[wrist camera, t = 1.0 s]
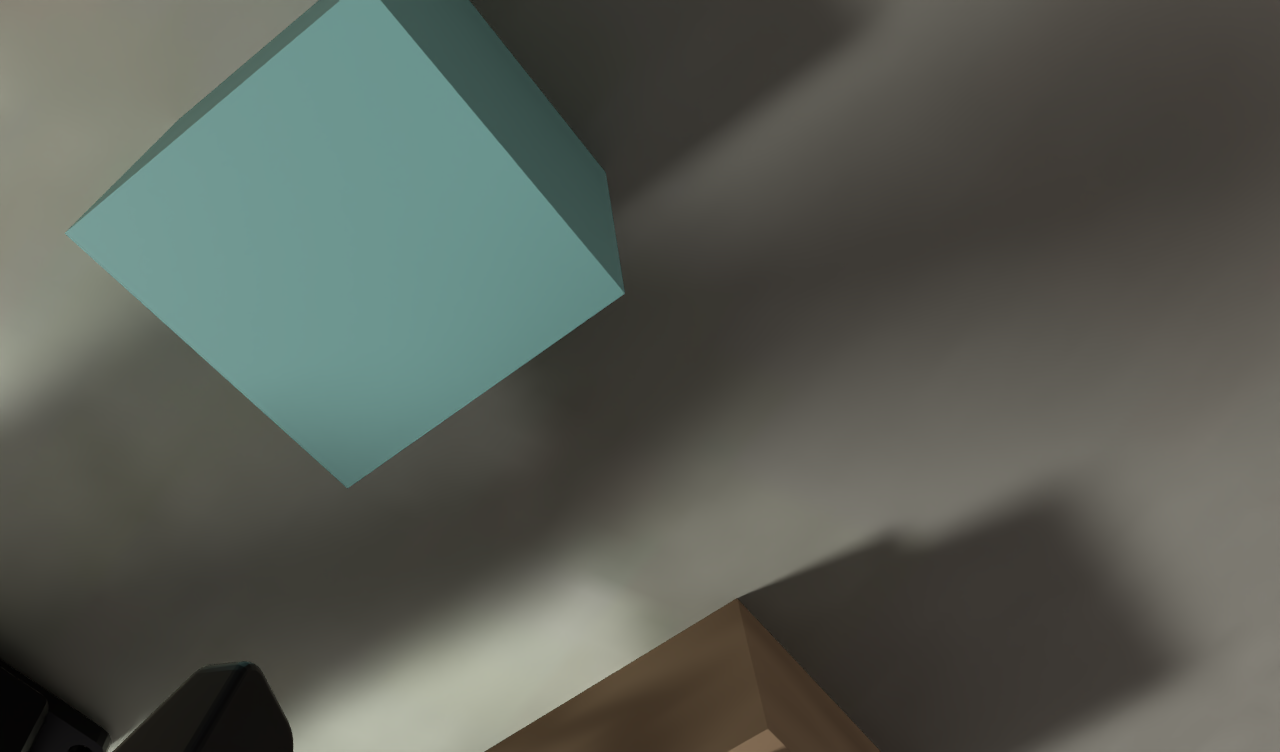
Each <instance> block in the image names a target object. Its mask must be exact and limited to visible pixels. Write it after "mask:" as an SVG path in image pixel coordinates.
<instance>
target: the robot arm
mask: <svg viewBox="0 0 1280 752" xmlns="http://www.w3.org/2000/svg"><path fill="white" fill-rule="evenodd" d="M110 743H111V738H110V736H109V734H108V733H107V732H106V731H105V730H104V729H103V728H102V727H100V726H99V725H97V724H96V723H94V722H93V721H91V720H90V719H88V718H87V717H85V716H84V715H83V714H81V713H80V712H78V711H77V710H75V709H74V708H72V707H71V706H69V705H68V704H66V703H65V702H63V701H62V700H60V699H59V698H57V697H56V696H54V695H53V694H51V693H50V692H48V691H47V690H45V689H44V688H42V687H41V686H39V685H38V684H36V683H35V682H33V681H32V680H31V679H29V678H28V677H26V676H25V675H23V674H22V673H20V672H19V671H17V670H16V669H14V668H13V667H11V666H10V665H8V664H7V663H5V662H4V661H2V660H1V659H0V752H108V749H109V747H110ZM82 745H84V746H86V747H84V746H82ZM113 752H293V737H292V732H291V728H290V725H289V722H288V720H287V718H286V717H285V715H284V713H283V711H282V709H281V707H280V705H279V703H278V701H277V699H276V697H275V696H274V694H273V692H272V690H271V688H270V686H269V684H268V682H267V680H266V678H265V676H264V675H263V673H262V671H261V670H260V668H259V667H258V666H256V665H255V664H253V663H252V662H247V661H242V662H233V663H223V664H214V665H208V666H205V667H202V668H201V669H199V670H198V671H196V672H195V673H194V674H193V675H192V676H191V677H190V678H189V679H188V680H186V681H185V682H184V683H183V684H182V685H181V686H180V687H179V688H178V689H177V690H176V691H175V692H174V693H173V694H172V695H171V696H170V697H169V698H168V699H167V700H166V701H165V702H164V703H163V704H161V705H160V706H159V707H158V708H157V709H156V710H155V711H154V712H153V713H152V714H151V715H150V716H149V717H148V718H147V719H146V720H145V721H144V722H143V723H142V724H141V725H140V726H139V727H138V728H137V729H135V730H134V731H133V732H132V733H131V734H130V735H129V736H128V737H127V738H126V739H125V740H124V741H123V742H122V743H121V744H120V745H119V746H118V747H117V748H116V749H115V750H114V751H113Z"/></svg>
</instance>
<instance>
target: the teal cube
mask: <svg viewBox="0 0 1280 752" xmlns="http://www.w3.org/2000/svg"><path fill="white" fill-rule="evenodd" d="M65 234H66V235H67V236H68V237H69V238H70V239H71V240H72V241H74V242H75V243H76V244H77V245H78V246H79V247H80V248H81V249H82V250H84V251H85V252H86V253H87V254H88V255H89V256H90V257H91V258H92V259H94V260H95V261H96V262H97V263H98V264H99V265H100V266H101V267H102V268H104V269H105V270H106V271H107V272H108V273H109V274H110V275H111V276H112V277H114V278H115V279H116V280H117V281H118V282H119V283H120V284H121V285H122V286H124V287H125V288H126V289H127V290H128V291H129V292H130V293H131V294H132V295H133V296H135V297H136V298H137V299H138V300H139V301H140V302H141V303H142V304H143V305H145V306H146V307H147V308H148V309H149V310H150V311H151V312H152V313H153V314H155V315H156V316H157V317H158V318H159V319H160V320H161V321H162V322H163V323H165V324H166V325H167V326H168V327H169V328H170V329H171V330H172V331H173V332H175V333H176V334H177V335H178V336H179V337H180V338H181V339H182V340H183V341H184V342H186V343H187V344H188V345H189V346H190V347H191V348H192V349H193V350H194V351H196V352H197V353H198V354H199V355H200V356H201V357H202V358H203V359H204V360H206V361H207V362H208V363H209V364H210V365H211V366H212V367H213V368H214V369H216V370H217V371H218V372H219V373H220V374H221V375H222V376H223V377H224V378H226V379H227V380H228V381H229V382H230V383H231V384H232V385H233V386H234V387H236V388H237V389H238V390H239V391H240V392H241V393H242V394H243V395H244V396H245V397H247V398H248V399H249V400H250V401H251V402H252V403H253V404H254V405H255V406H257V407H258V408H259V409H260V410H261V411H262V412H263V413H264V414H265V415H267V416H268V417H269V418H270V419H271V420H272V421H273V422H274V423H275V424H277V425H278V426H279V427H280V428H281V429H282V430H283V431H284V432H285V433H287V434H288V435H289V436H290V437H291V438H292V439H293V440H294V441H295V442H297V443H298V444H299V445H300V446H301V447H302V448H303V449H304V450H305V451H306V452H308V453H309V454H310V455H311V456H312V457H313V458H314V459H315V460H316V461H318V462H319V463H320V464H321V465H322V466H323V467H324V468H325V469H326V470H328V471H329V472H330V473H331V474H332V475H333V476H334V477H335V478H336V479H338V480H339V481H340V482H341V483H342V484H343V485H344V486H345V487H346V488H349V487H350V486H352V485H353V484H355V483H356V482H358V481H359V480H360V479H362V478H363V477H365V476H366V475H368V474H369V473H370V472H372V471H373V470H375V469H376V468H377V467H379V466H380V465H382V464H383V463H385V462H386V461H387V460H389V459H390V458H392V457H393V456H395V455H396V454H397V453H399V452H400V451H402V450H403V449H404V448H406V447H407V446H409V445H410V444H412V443H413V442H414V441H416V440H417V439H419V438H420V437H422V436H423V435H424V434H426V433H427V432H429V431H430V430H432V429H433V428H434V427H436V426H437V425H439V424H440V423H441V422H443V421H444V420H446V419H447V418H449V417H450V416H451V415H453V414H454V413H456V412H457V411H459V410H460V409H461V408H463V407H464V406H466V405H467V404H468V403H470V402H471V401H473V400H474V399H476V398H477V397H478V396H480V395H481V394H483V393H484V392H486V391H487V390H488V389H490V388H491V387H493V386H494V385H495V384H497V383H498V382H500V381H501V380H503V379H504V378H505V377H507V376H508V375H510V374H511V373H513V372H514V371H515V370H517V369H518V368H520V367H521V366H522V365H524V364H525V363H527V362H528V361H530V360H531V359H532V358H534V357H535V356H537V355H538V354H540V353H541V352H542V351H544V350H545V349H547V348H548V347H550V346H551V345H552V344H554V343H555V342H557V341H558V340H559V339H561V338H562V337H564V336H565V335H567V334H568V333H569V332H571V331H572V330H574V329H575V328H577V327H578V326H579V325H581V324H582V323H584V322H585V321H586V320H588V319H589V318H591V317H592V316H594V315H595V314H596V313H598V312H599V311H601V310H602V309H604V308H605V307H606V306H608V305H609V304H611V303H612V302H613V301H615V300H616V299H618V298H619V297H621V296H622V295H623V294H625V291H624V285H623V278H622V272H621V266H620V259H619V253H618V247H617V240H616V234H615V228H614V221H613V215H612V209H611V202H610V196H609V190H608V184H607V177H606V172H605V171H604V170H603V169H602V167H601V166H600V165H599V164H598V162H597V161H596V160H595V159H594V157H593V156H592V155H591V154H590V152H589V151H588V150H587V148H586V147H585V146H584V145H583V143H582V142H581V141H580V140H579V138H578V137H577V136H576V135H575V133H574V132H573V131H572V130H571V128H570V127H569V126H568V124H567V123H566V122H565V121H564V119H563V118H562V117H561V116H560V114H559V113H558V112H557V111H556V109H555V108H554V107H553V106H552V104H551V103H550V102H549V100H548V99H547V98H546V97H545V95H544V94H543V93H542V92H541V90H540V89H539V88H538V87H537V85H536V84H535V83H534V82H533V80H532V79H531V78H530V76H529V75H528V74H527V73H526V71H525V70H524V69H523V68H522V66H521V65H520V64H519V63H518V61H517V60H516V59H515V57H514V56H513V55H512V54H511V52H510V51H509V50H508V49H507V47H506V46H505V45H504V44H503V42H502V41H501V40H500V39H499V37H498V36H497V35H496V33H495V32H494V31H493V30H492V28H491V27H490V26H489V25H488V23H487V22H486V21H485V20H484V18H483V17H482V16H481V15H480V13H479V12H478V11H477V9H476V8H475V7H474V6H473V4H472V3H471V2H470V1H469V0H319V1H318V2H316V3H315V4H314V5H313V6H312V7H311V8H309V9H308V10H307V11H306V12H305V13H303V14H302V15H301V16H300V17H299V18H298V19H296V20H295V21H294V22H293V23H292V24H291V25H289V26H288V27H287V28H286V29H285V30H283V31H282V32H281V33H280V34H279V35H278V36H276V37H275V38H274V39H273V40H272V41H271V42H269V43H268V44H267V45H266V46H265V47H263V48H262V49H261V50H260V51H259V52H258V53H256V54H255V55H254V56H253V57H252V58H251V59H249V60H248V61H247V62H246V63H245V64H243V65H242V66H241V67H240V68H239V69H238V70H236V71H235V72H234V73H233V74H232V75H231V76H229V77H228V78H227V79H226V80H225V81H224V82H222V83H221V84H220V85H219V86H218V87H216V88H215V89H214V90H213V91H212V92H211V93H209V94H208V95H207V96H206V97H205V98H204V99H202V100H201V101H200V102H199V103H198V104H196V105H195V106H194V107H193V108H192V109H191V110H189V111H188V112H187V113H186V114H185V115H184V116H182V117H181V118H180V119H179V120H178V121H177V122H176V123H175V124H174V125H173V126H172V127H171V128H170V129H169V130H168V131H167V132H166V133H165V134H164V135H163V136H162V137H161V138H160V139H159V140H158V141H157V142H156V143H155V144H154V145H153V146H152V147H151V148H150V149H149V150H148V151H147V152H146V153H145V154H144V155H143V156H142V157H141V158H140V159H139V160H138V161H137V162H136V163H135V164H134V165H133V166H132V167H131V168H130V169H129V170H128V171H127V172H126V173H125V174H124V175H123V176H122V177H121V178H120V179H119V180H118V181H117V182H116V183H115V184H114V185H113V186H112V187H111V188H110V189H109V190H108V191H107V192H106V193H105V194H104V195H103V196H102V197H101V198H100V199H99V200H98V201H97V202H96V203H95V204H94V205H93V206H92V207H91V208H89V209H88V210H87V211H86V212H85V213H84V214H83V215H82V216H81V217H80V218H79V219H78V220H77V221H76V222H75V223H74V224H73V225H72V226H71V227H70V228H69V229H68V230H67V231H66V232H65Z"/></svg>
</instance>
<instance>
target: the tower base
mask: <svg viewBox="0 0 1280 752" xmlns="http://www.w3.org/2000/svg"><path fill="white" fill-rule="evenodd" d="M485 752H881V751H880V750H879V749H878V748H877V747H876V746H875V745H874V744H873V743H872V742H871V741H870V740H869V739H868V738H867V736H866V735H865V734H864V733H863V732H862V731H861V730H860V729H859V728H858V727H857V726H856V725H855V724H854V723H853V722H852V720H851V719H850V718H849V717H848V716H847V715H846V714H845V713H844V712H843V711H842V710H841V709H840V708H839V707H838V706H837V704H836V703H835V702H834V701H833V700H832V699H831V698H830V697H829V696H828V695H827V694H826V693H825V692H824V691H823V690H822V688H821V687H820V686H819V685H818V684H817V683H816V682H815V681H814V680H813V679H812V678H811V677H810V676H809V675H808V674H807V672H806V671H805V670H804V669H803V668H802V667H801V666H800V665H799V664H798V663H797V662H796V661H795V660H794V659H793V658H792V656H791V655H790V654H789V653H788V652H787V651H786V650H785V649H784V648H783V647H782V646H781V645H780V644H779V643H778V642H777V640H776V639H775V638H774V637H773V636H772V635H771V634H770V633H769V632H768V631H767V630H766V629H765V628H764V627H763V625H762V624H761V623H760V622H759V621H758V620H757V619H756V618H755V617H754V616H753V615H752V614H751V613H750V612H749V611H748V609H747V608H746V607H745V606H744V605H743V604H742V603H741V602H740V601H739V600H738V599H735V600H733V601H732V602H730V603H728V604H727V605H725V606H723V607H722V608H720V609H718V610H717V611H715V612H714V613H712V614H710V615H709V616H707V617H705V618H704V619H702V620H700V621H699V622H697V623H695V624H694V625H692V626H690V627H689V628H687V629H686V630H684V631H682V632H681V633H679V634H677V635H676V636H674V637H672V638H671V639H669V640H667V641H666V642H664V643H663V644H661V645H659V646H658V647H656V648H654V649H653V650H651V651H649V652H648V653H646V654H644V655H643V656H641V657H639V658H638V659H636V660H635V661H633V662H631V663H630V664H628V665H626V666H625V667H623V668H621V669H620V670H618V671H616V672H615V673H613V674H611V675H610V676H608V677H607V678H605V679H603V680H602V681H600V682H598V683H597V684H595V685H593V686H592V687H590V688H588V689H587V690H585V691H584V692H582V693H580V694H579V695H577V696H575V697H574V698H572V699H570V700H569V701H567V702H565V703H564V704H562V705H560V706H559V707H557V708H556V709H554V710H552V711H551V712H549V713H547V714H546V715H544V716H542V717H541V718H539V719H537V720H536V721H534V722H533V723H531V724H529V725H528V726H526V727H524V728H523V729H521V730H519V731H518V732H516V733H514V734H513V735H511V736H509V737H508V738H506V739H505V740H503V741H501V742H500V743H498V744H496V745H495V746H493V747H491V748H490V749H488V750H486V751H485Z"/></svg>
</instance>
